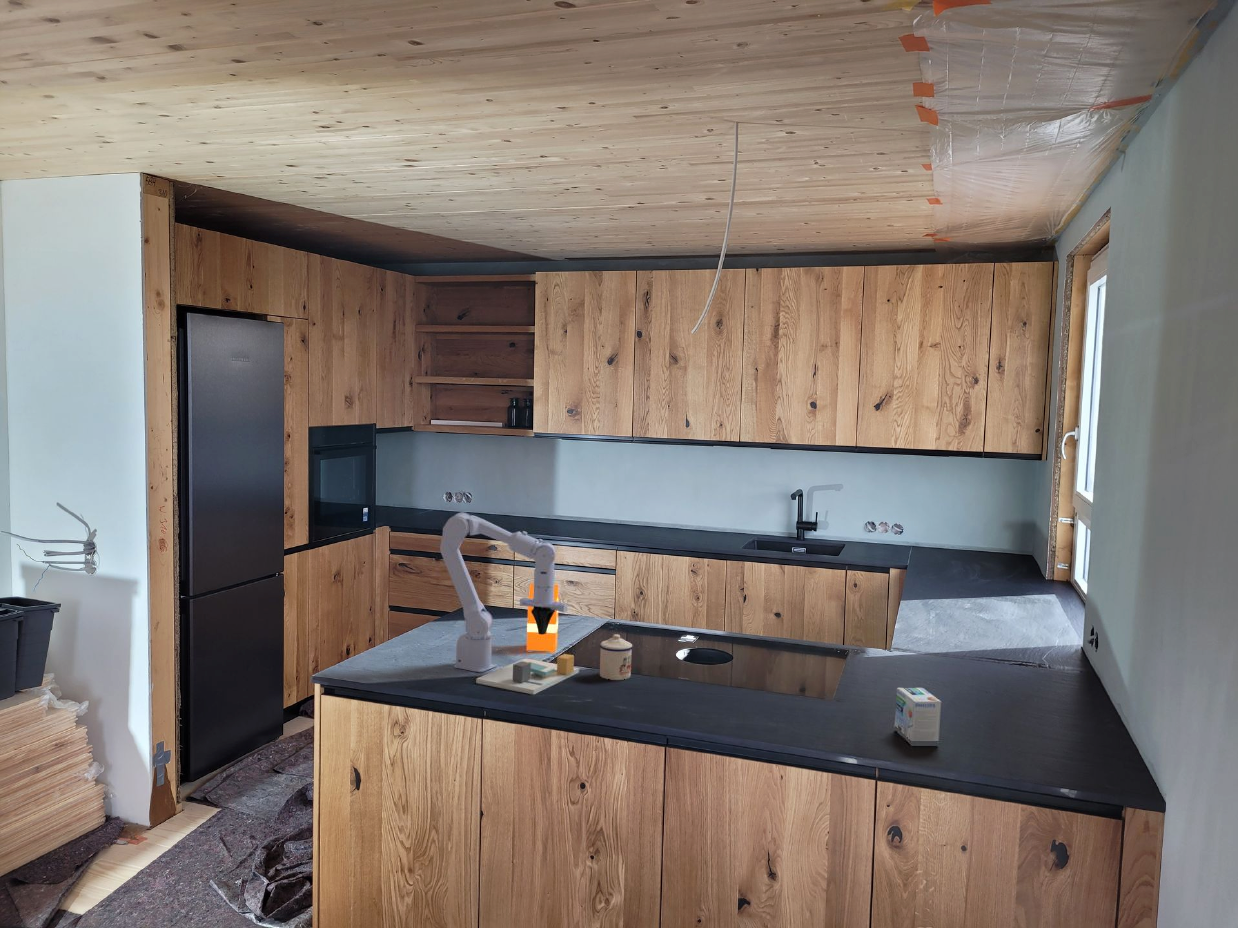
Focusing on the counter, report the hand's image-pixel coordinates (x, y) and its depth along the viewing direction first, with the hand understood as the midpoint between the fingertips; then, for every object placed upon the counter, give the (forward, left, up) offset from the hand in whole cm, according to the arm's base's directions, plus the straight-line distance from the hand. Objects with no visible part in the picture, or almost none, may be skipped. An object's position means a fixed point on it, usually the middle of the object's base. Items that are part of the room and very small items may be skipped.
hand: (542, 633), depth 259 cm
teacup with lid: (+20, +8, -11) cm, 24 cm away
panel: (+1, -8, -10) cm, 13 cm away
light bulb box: (+102, +1, -11) cm, 103 cm away
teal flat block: (+4, -9, -7) cm, 12 cm away
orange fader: (+9, -2, -9) cm, 13 cm away
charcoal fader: (+3, -15, -9) cm, 18 cm away
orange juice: (-12, +20, -11) cm, 26 cm away
